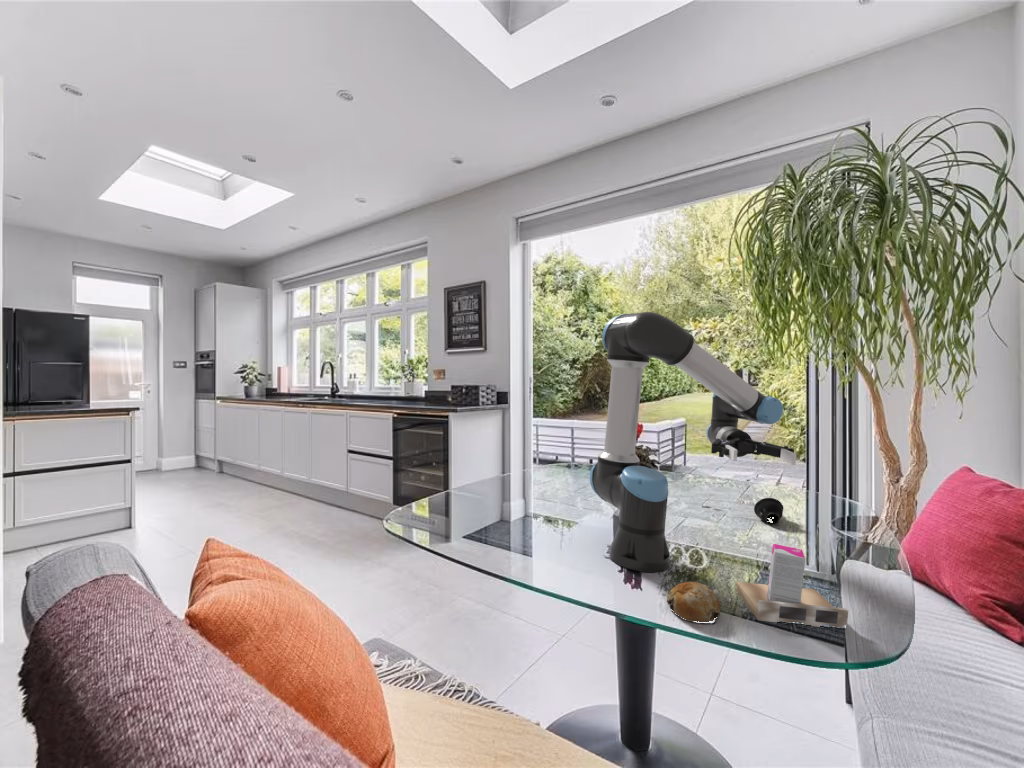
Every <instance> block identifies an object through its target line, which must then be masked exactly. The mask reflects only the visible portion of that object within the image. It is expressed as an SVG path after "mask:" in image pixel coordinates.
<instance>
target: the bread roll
mask: <svg viewBox="0 0 1024 768" xmlns="http://www.w3.org/2000/svg"><path fill="white" fill-rule="evenodd" d="M666 603H667V604H668V605H669V609H670V610H671V609H672V610H673V611H674V612H673V611H672V612H673V614H674V613H676V614H677V615H679V616H681V617H682V618H684V619H686V620H685V621H687V620H689V621H688V622H690V621H697V622H698V621H699V622H709V621H713V620H714V618H716V617H718V618H719V616H720V614H721V604H720V603H721V602H720V600H719V598H718V596H717V594H716V593H715V592H714V591H713V590H712V589H711V588H710V587H709V586H708V585H706V584H702V583H700V582H697V581H684V582H681V583H678V584H676V585H675V586H674V587H673V588H671V589H670V590H669V592H668V594H667V595H666ZM677 615H676V616H677ZM679 616H678V617H679ZM682 618H681V619H682Z"/></svg>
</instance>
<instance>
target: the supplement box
mask: <svg viewBox="0 0 1024 768" xmlns="http://www.w3.org/2000/svg"><path fill="white" fill-rule="evenodd" d="M805 565H806V557H805V554H804V551H803V549H801V548H796V547H792V546H786V545H782V544H777V543H773V544H772V551H771V558H770V567H769V575H768V584H767V585H768V592H767V595H768V601H776V602H786V603H796V604H800V603H801V594H802V588H803V584H804V583H803V582H804V575H805V568H806V567H805Z"/></svg>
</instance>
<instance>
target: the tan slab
mask: <svg viewBox="0 0 1024 768" xmlns="http://www.w3.org/2000/svg"><path fill="white" fill-rule="evenodd" d="M735 590H736V592H737V593H738V595H739V596H740V597H741V599H742V600H743V602H744V603H745V604H746V606H747V607H748V609H749V610H750V611H751V613H752V614H753V615H754V617H755V618H756V620H757V621H761V622H769V623H777V622H779V621H783V622H802V623H804V624H807V625H811V626H810V627H817V628H821V627H820V626H822V625H825V624H828V625H831V626H835V627H843V626H844V625H846V624H847V625H848V618H849V610H848V608H845V607H834V605H832V604H831V603H830V602H829V601H828V600H827V599H826V598H824V597H823V595H821V593H820V592H818V591H817V590H816V589H814V588H808V587H807V588H804V587H802V594H801V603H800V604H796V603H786V602H776V601H768V595H767V592H768V584H764V583H754V582H744V581H736V589H735Z"/></svg>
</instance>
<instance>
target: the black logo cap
mask: <svg viewBox="0 0 1024 768" xmlns="http://www.w3.org/2000/svg"><path fill="white" fill-rule="evenodd" d="M753 511H754V514H755V515H756V517H757V518H759V519H760V520H761V521H763V522H764V521H765V522H764V523H767V518H770V517H771V518H770V519H772V517H774V519H772V521H773V523H770V522H768V524H770V525H776V524H778V523H779V522H780V520H781V519H782V517H783V512H784V505H783V503H782V502H781V501H780V500H778V499H777V498H774V497H764V498H761V499H760V500H758V501H756V503H755V505H754V507H753Z"/></svg>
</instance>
